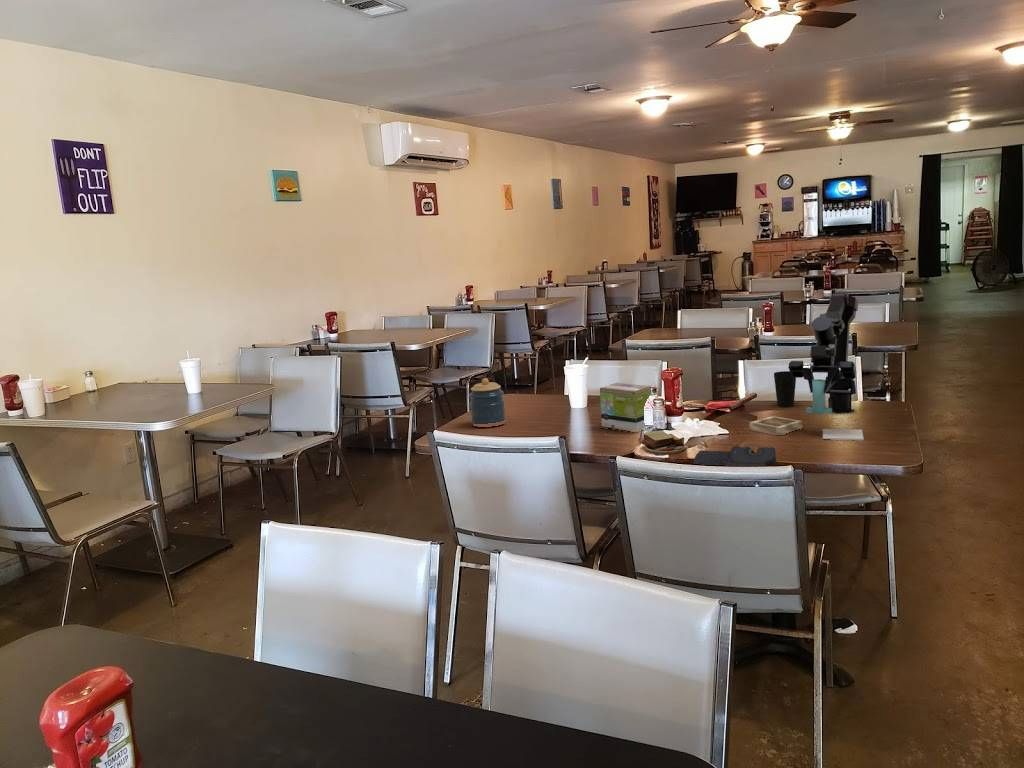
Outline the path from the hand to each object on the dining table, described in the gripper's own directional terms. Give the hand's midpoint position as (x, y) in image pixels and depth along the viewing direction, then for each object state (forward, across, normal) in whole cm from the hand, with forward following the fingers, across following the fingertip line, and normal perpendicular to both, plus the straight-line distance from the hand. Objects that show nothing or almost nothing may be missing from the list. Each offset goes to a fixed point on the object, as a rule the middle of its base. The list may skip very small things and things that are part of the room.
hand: (817, 392), depth 227 cm
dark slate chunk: (+35, -15, -15) cm, 41 cm away
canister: (+19, -114, 0) cm, 115 cm away
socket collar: (+6, -14, +13) cm, 20 cm away
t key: (+4, 0, +6) cm, 7 cm away
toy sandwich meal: (+29, -39, -9) cm, 50 cm away
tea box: (+14, -61, +6) cm, 63 cm away
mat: (+8, +6, +11) cm, 15 cm away
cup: (-18, -19, +38) cm, 47 cm away
